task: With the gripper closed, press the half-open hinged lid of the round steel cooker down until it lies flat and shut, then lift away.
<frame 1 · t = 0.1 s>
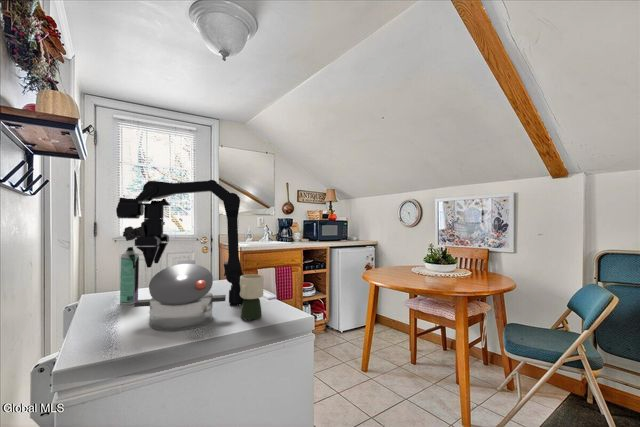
hand: (152, 265, 101), 15 cm above the countertop, fingers open, 9 cm apart
cooker pot: (182, 320, 90), on the countertop
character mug: (251, 319, 93), on the countertop
cooker lid: (182, 278, 89), point 13 cm above the countertop, hinge at 28.0°
spray can: (129, 303, 108), on the countertop
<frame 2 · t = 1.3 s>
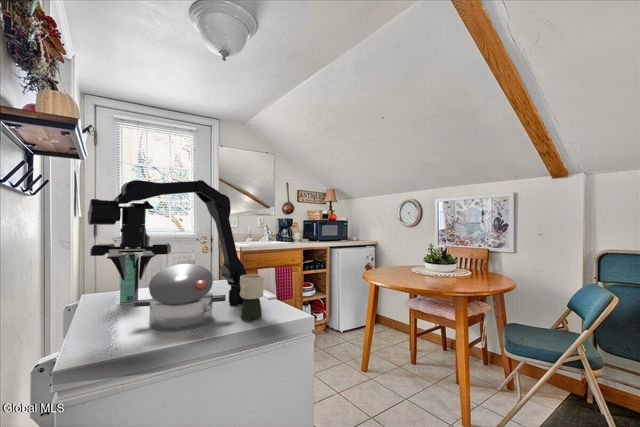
hand: (132, 279, 85), 13 cm above the countertop, fingers open, 4 cm apart
nothing on the countertop moved.
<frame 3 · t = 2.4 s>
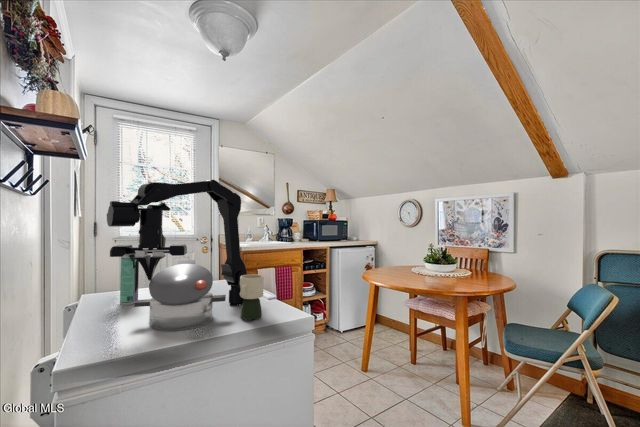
hand: (150, 280, 87), 13 cm above the countertop, fingers closed
cooker lid: (182, 278, 89), point 13 cm above the countertop, hinge at 28.1°, touching gripper
everything else where it was.
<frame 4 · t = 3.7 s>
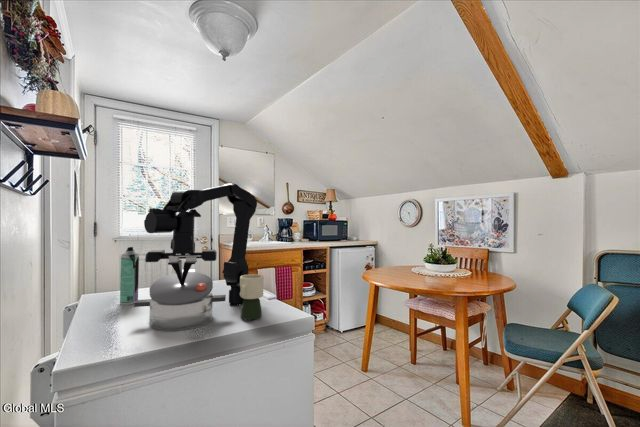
hand: (182, 284, 89), 11 cm above the countertop, fingers closed, pressing on cooker lid
cooker lid: (182, 283, 90), point 11 cm above the countertop, hinge at 17.3°, touching gripper
everything else where it was.
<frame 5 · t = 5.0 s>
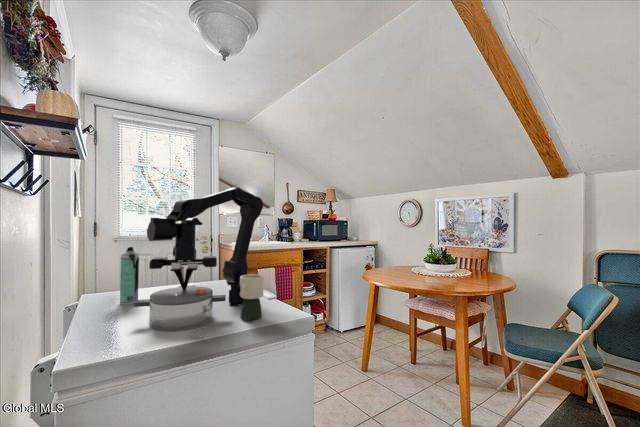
hand: (184, 290, 93), 8 cm above the countertop, fingers closed, pressing on cooker lid
cooker lid: (183, 291, 91), point 8 cm above the countertop, hinge at 0.1°, touching gripper
everything else where it was.
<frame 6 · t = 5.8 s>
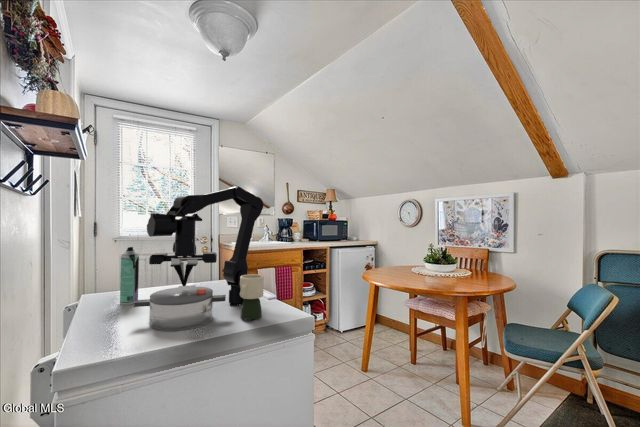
hand: (184, 285, 94), 10 cm above the countertop, fingers closed
cooker lid: (183, 291, 91), point 8 cm above the countertop, hinge at 0.1°
everything else where it was.
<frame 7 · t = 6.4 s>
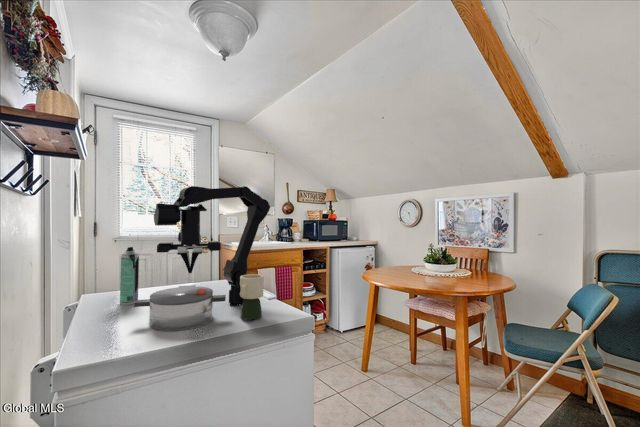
hand: (190, 273, 98), 13 cm above the countertop, fingers closed
nothing on the countertop moved.
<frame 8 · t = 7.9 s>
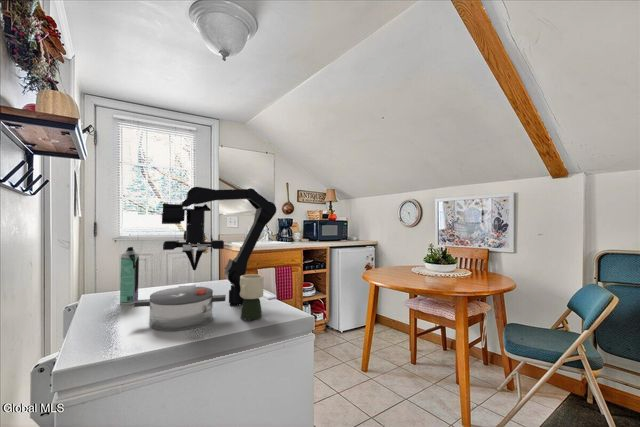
hand: (194, 270, 102), 13 cm above the countertop, fingers closed
nothing on the countertop moved.
at the end: cooker lid at +0° (first picture: +28°); spray can moved 0.2 cm from its start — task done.
